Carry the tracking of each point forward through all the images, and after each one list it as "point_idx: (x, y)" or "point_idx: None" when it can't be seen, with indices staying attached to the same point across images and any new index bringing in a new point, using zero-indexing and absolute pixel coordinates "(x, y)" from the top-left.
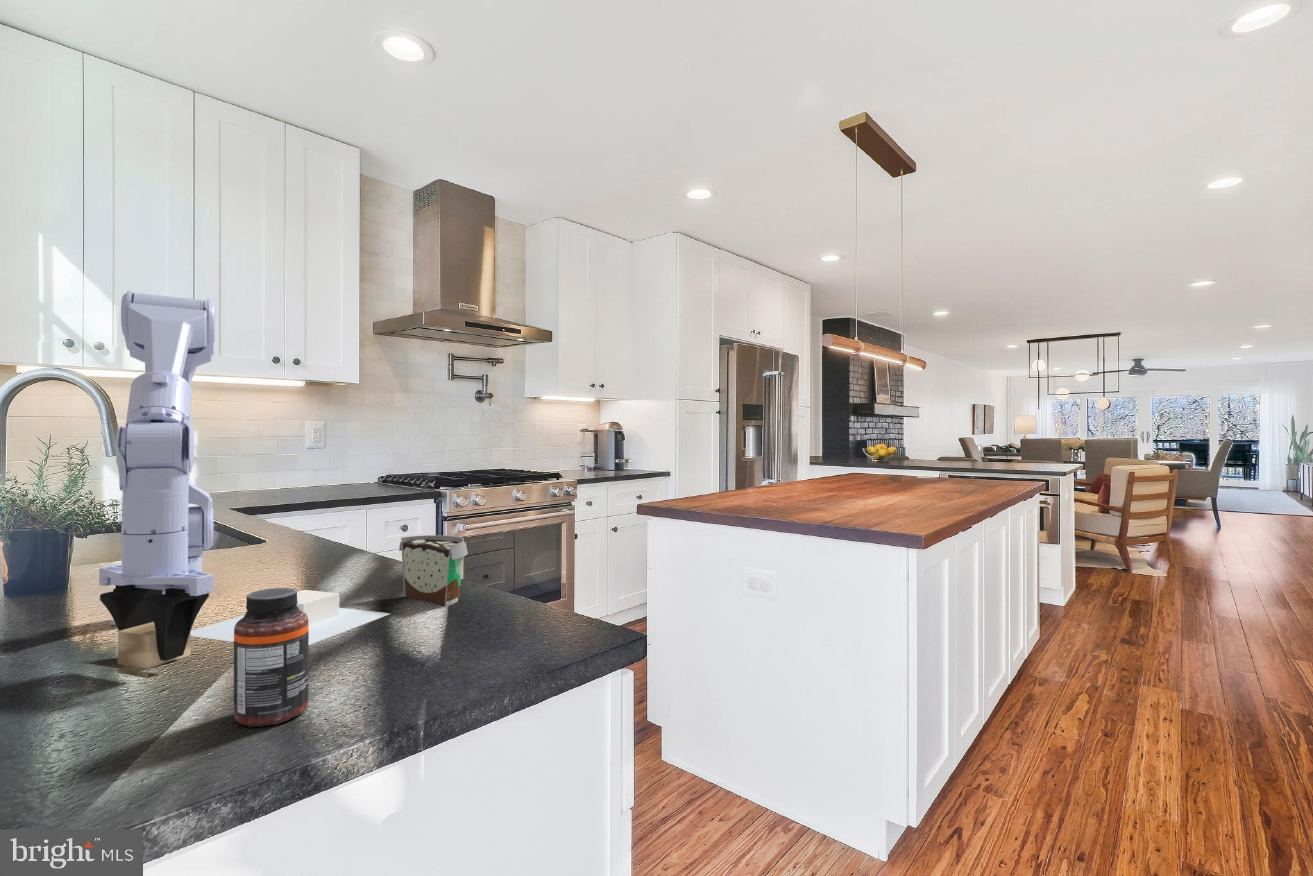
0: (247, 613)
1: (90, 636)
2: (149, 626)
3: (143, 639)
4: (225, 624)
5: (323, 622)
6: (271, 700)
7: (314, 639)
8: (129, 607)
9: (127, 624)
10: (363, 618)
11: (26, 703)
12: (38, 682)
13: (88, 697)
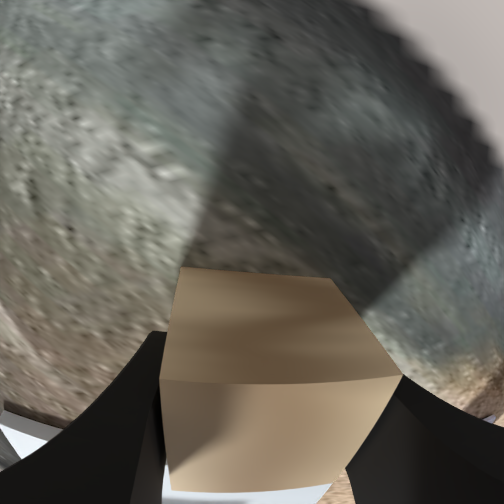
0: None
1: (501, 383)
2: (312, 450)
3: (204, 363)
4: (298, 499)
5: None
6: None
7: None
8: (428, 490)
9: (397, 421)
10: None
11: (363, 21)
12: (468, 173)
13: (214, 75)
